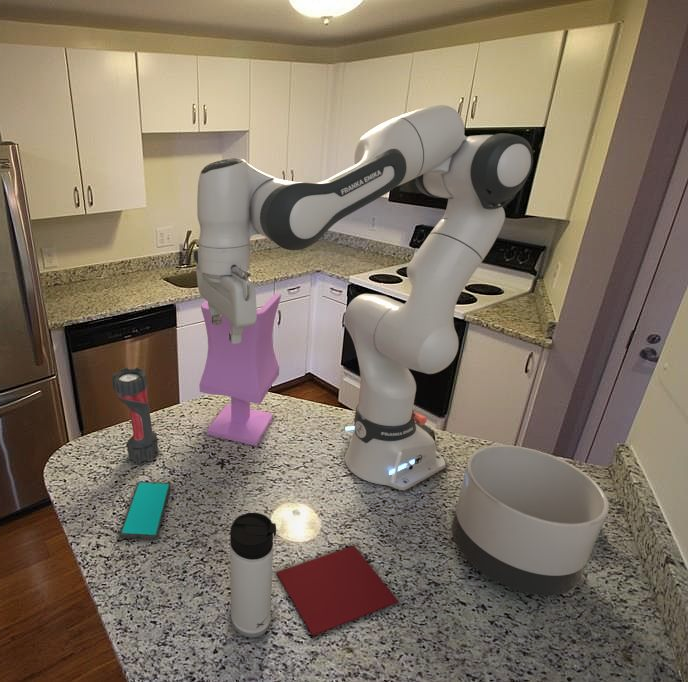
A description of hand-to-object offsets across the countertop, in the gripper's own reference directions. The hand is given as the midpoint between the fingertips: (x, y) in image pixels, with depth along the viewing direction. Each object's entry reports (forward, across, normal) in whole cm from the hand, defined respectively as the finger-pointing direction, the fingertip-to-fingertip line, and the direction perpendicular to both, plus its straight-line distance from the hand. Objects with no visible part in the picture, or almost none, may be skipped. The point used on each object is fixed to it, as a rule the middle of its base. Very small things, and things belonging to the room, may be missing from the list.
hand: (225, 332), depth 86 cm
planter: (+37, -35, -40) cm, 65 cm away
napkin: (+37, -29, -8) cm, 48 cm away
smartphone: (+37, 0, +18) cm, 41 cm away
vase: (+37, +21, -12) cm, 45 cm away
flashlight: (+37, +18, +16) cm, 44 cm away
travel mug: (+37, -29, +7) cm, 48 cm away
